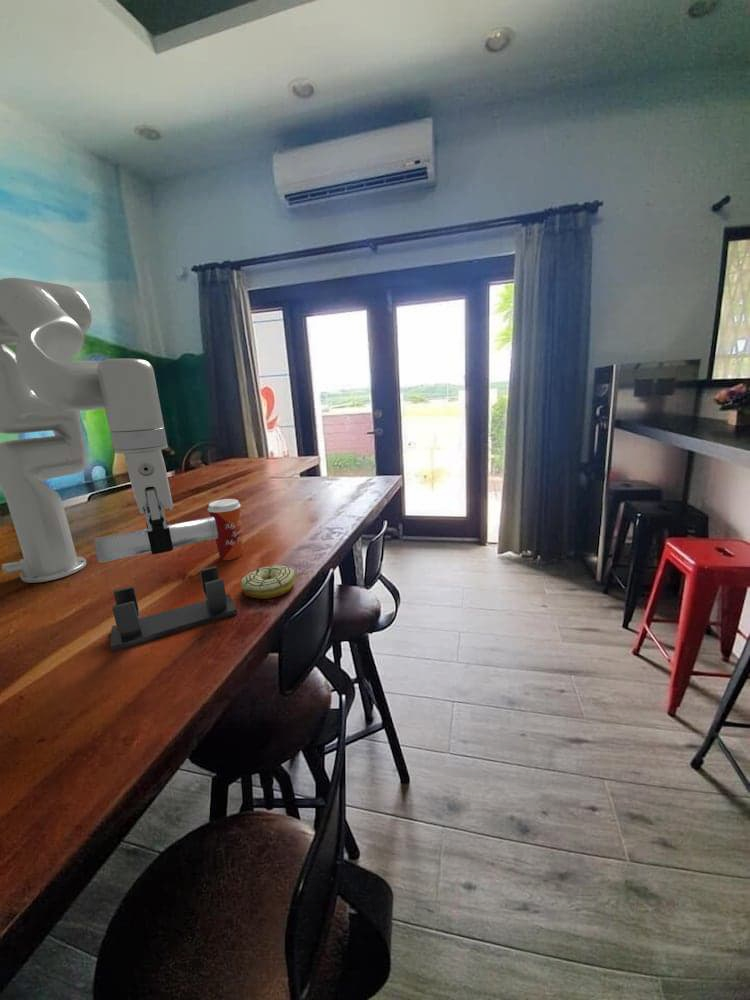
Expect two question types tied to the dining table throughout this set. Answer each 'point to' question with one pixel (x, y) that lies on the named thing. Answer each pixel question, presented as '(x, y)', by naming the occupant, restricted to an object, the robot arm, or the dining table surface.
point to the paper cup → (227, 527)
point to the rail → (139, 540)
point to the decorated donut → (268, 582)
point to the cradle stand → (168, 613)
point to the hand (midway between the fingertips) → (161, 546)
